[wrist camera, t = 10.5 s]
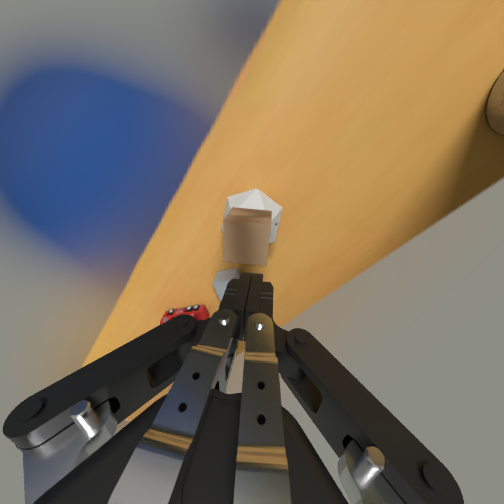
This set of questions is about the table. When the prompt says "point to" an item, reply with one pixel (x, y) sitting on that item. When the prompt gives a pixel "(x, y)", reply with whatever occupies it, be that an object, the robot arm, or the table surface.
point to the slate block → (224, 280)
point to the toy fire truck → (195, 311)
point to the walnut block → (246, 236)
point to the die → (256, 207)
